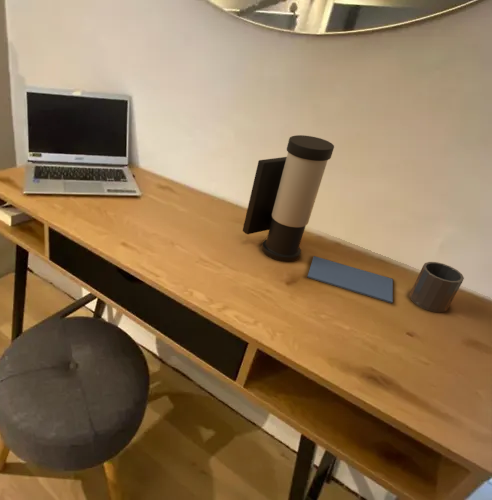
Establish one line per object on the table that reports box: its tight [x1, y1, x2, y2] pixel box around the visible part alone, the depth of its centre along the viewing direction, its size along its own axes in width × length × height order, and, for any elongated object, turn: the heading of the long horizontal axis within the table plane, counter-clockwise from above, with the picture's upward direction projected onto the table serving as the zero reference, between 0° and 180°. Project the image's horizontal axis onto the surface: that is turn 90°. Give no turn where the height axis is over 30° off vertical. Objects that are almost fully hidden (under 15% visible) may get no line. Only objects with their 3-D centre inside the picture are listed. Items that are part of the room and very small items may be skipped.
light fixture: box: [242, 134, 335, 263], centre depth 98 cm, size 12×11×25 cm
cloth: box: [307, 255, 394, 304], centre depth 96 cm, size 16×9×1 cm, turn 65°
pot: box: [409, 261, 465, 313], centre depth 90 cm, size 7×7×7 cm
